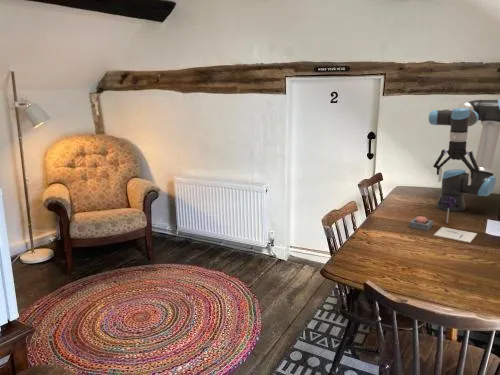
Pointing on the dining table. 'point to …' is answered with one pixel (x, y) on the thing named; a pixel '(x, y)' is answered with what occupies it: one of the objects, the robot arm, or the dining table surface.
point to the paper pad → (455, 234)
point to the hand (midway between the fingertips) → (454, 183)
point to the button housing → (420, 225)
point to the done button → (421, 219)
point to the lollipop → (449, 203)
